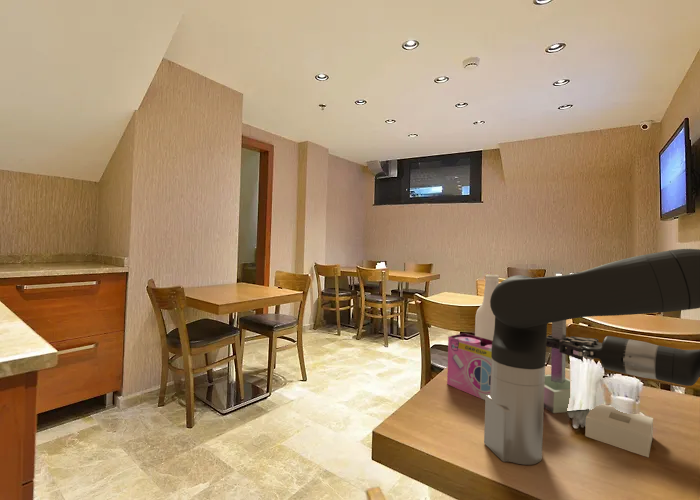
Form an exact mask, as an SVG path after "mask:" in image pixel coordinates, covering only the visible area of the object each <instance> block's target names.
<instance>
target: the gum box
mask: <svg viewBox="0 0 700 500" xmlns="http://www.w3.org/2000/svg"><path fill="white" fill-rule="evenodd" d="M447 339H448V342H447V378H446V380H447V381H446V384H447V385H448V386H451V387H452V388H455V389H457V390H459V391H463V392H464V393H467V394H469V395H471V396H474V397H476V398H479V399H481V400H483V401H485V398H486V396H487V395H490V385H491V354H492V342H493V341H492V340H489V339H485V338H481V337H477V336H475V334H474V335H473V334H470V333H466V332H464V333H459V334H455V335H451V336H449V335H448V336H447Z"/></svg>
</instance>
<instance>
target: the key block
mask: <svg viewBox="0 0 700 500" xmlns="http://www.w3.org/2000/svg"><path fill="white" fill-rule="evenodd" d="M615 408H616V407H615ZM615 408H614V406H611V405H608V404H604V403H601V405H599V406H596V407H595V408H594V409H592V410H591V409H590V410H588V413H587V414H586V416H585V431H584V432H585V434H584V435H585V437H587V438H589V439H593V440H595V441H598V442H601V443H605V444H608V445H610V446H613V447H616V448H620V449H622V450H625V451H628V452H630V453H633V454H635V455H636V454H637V455H640V456H642V457H646V458H648V459H649V457H650V453H651V447H652V441H653V437H654V436H653V431H654V417H651V416H648V415H643V414H640V413H637V414H627V413H623V412H620V411H618V410H616V409H615Z"/></svg>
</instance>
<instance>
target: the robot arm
mask: <svg viewBox="0 0 700 500" xmlns="http://www.w3.org/2000/svg"><path fill="white" fill-rule="evenodd" d="M498 283H499V282H498ZM490 306H491V310H492V312H493V314H494V315H495V329H494V336H493V342H492V354H491V385H490V395H487V396H486V398H485V400H484V405H485V406H484V428H483V429H484V431H483V436H484V437H483V443H484V445H485V446H486V447H487V448H488V449H489V450H491V451H492V453H493V454H495V456H496V457H498V459H500V460H501V461H502V462H504V463H505V462H510V463H512V464H513V463H514V464H519V465H527V466H528V465H535V464H538V463H539V462H541V461H542V458H543V441H544V440H543V438H544V436H543V435H544V409H545V408H544V386H545V375H546V355H547V347H548V348H551V349H552V348H556V349H559V352H560V353H563V354H566V355H567V356H569V357H572V358H575V359H577V360H581V361H582V360H584V359H587V360H594V359H599V360H600V362H601V365H602V367H603V369H605V370H607V371H612V372H618V373H621V374H624V375H625V374H626V375H630V376H635V377H639V378H643V379H644V378H645V379H651V380H657V381H658V380H659V381H663V382H666V383H672V384H675V385H681V386H687V387H691V386H694V385H695V384H696V383H697V381H698V380H699V379H700V349H682V348H676V347H670V346H666V345H665V346H663V345H659V344H658V345H657V344H654V343H651V342H647V341H641V340H636V339H630V338H624V337H617V336H613V335H612V336H611V335H607V336H605V337H604V338H603V341H602V342H599V339H598V338H593V337H592V338H591V337H579V336H570V337H569V336H566V340H559V339H554V338H552V334H550V335H547V334H548V324H552V322H558V321H563V320H566V321H568V320H573V319H579V318H586V317H589V318H590V317H612V316H614V317H615V316H630V315H643V314H644V315H645V314H658V313H671V312H679V311H687V310H689V311H690V310H695V309H696V310H697V309H700V249H698V248H679V249H676V248H675V249H670V250H665V251H659V252H654V253H652V252H651V253H647V254H641V255H635V256H631V257H628V258H623V259H619V260H615V261H612V262H608V263H605V264H602V265H599V266H595V267H591V268H588V269H585V270H582V271H577V272H575V273H569V274H561V275H553V276H541V277H531V276H527V275H522V274H521V275H520V274H519V275H512V276H509V277H508V278H505V279H504V280H502V281H501V282H500V283H499V284H498V285H497V286H496V288H495V289H494V291H493V293H492V295H491V299H490ZM565 346H566V348H565ZM583 358H584V359H583Z"/></svg>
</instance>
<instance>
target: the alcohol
mask: <svg viewBox="0 0 700 500" xmlns="http://www.w3.org/2000/svg"><path fill="white" fill-rule="evenodd" d="M484 277H485V279H484V281H485V283H484V291H483V300H482V304H481V305H480V306H479V307H478V308H477V310H476V311H475V313H476V314H475V322H474V323H475V325H474V336H477V337H481V338H485V339H489V340H492V341H493V336H494V329H495V315H494V314H493V312H492V310H491V306H490V299H491V295H492V293H493V291H494V289H495V288H496V286H497V285H498V284H499V282H500V276H499V274H485V275H484Z"/></svg>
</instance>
